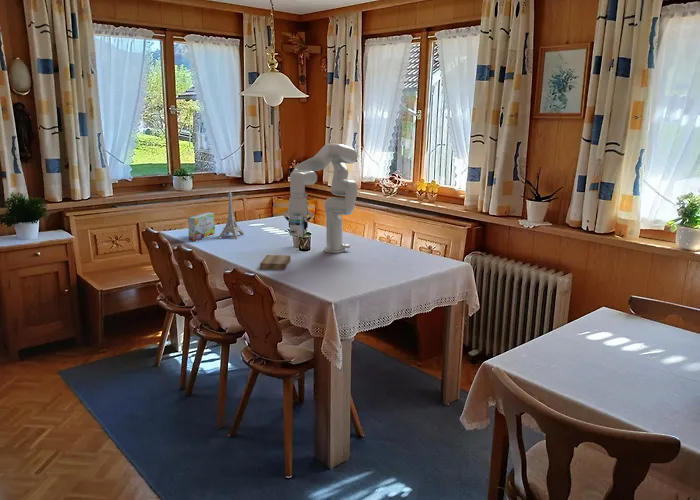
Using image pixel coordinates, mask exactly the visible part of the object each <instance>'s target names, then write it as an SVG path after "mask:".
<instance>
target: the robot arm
mask: <svg viewBox="0 0 700 500" xmlns="http://www.w3.org/2000/svg"><path fill="white" fill-rule="evenodd" d="M357 160H358V152H357V150H356V149H355V148H353V147H350V146H348V145H345V144H341V143H327V144H326V143H325V145H323V147H321V149H320V150H319V151H318V152H317V153H315V154H314V156H313V157H310V158H308V159H306V160H304V161H301V162H300V163H298V165H297V166H295V168H293V170H291V171H292V172H290V174H289V178H290V179H289V181H290V183H289V184H290V185H289V186H290V188H289V189H290V190H289V191H290V197H289V199H288V205H287V208H288V209H287V210H286V211H285V212H283V213H282V216H283V217H284V219H285V220H286V221H287V222H288V229H290V219H289V216H290V215H303V218H304V220H305V223H304V227H305V230H306V229H308V226H309V225H308V222H309V221H310V220H311V219H312V217H314V213H313V212H311V211H310V210H309V207H308V199H307V197H308V193H306V185H307V186H312V185H314V184H315V183H317V181H318V174H317V173H316V172H318V171H322V170H324V169H326V168H327V166H328V165H329V164H330V163H331V164H332V167H333V176H332V178H331V179H332V180H331V183H330V184H331V186H330V193H331V194H332V195H335V196H336V197H335V196H330V197H328V198H326V200H324V211H325V218H326V220H325V221H326V226H325V227H326V229H325V231H326V243H325V244H326V247H324V248H323V251H324V252H326V253H331V254H338V253H344V252H345V251H346V249H350V248H351V245H350V244H348V243H347V244H346V243H345V244H344V241H343V239H344V238H343V234H344V231H343V227H344V226H343V218H342V216H351V215H352V214H353V213H354V210H355V206H356V200H357V195H358V191H359V190H358V184H357V182H356V181H354V180H352V179H351V180H350V179H348V177H349V169H348V167H347V165H346V164H354V163H356V162H357ZM337 196H339V197H337ZM308 215H309V216H308Z"/></svg>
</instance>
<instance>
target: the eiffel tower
mask: <svg viewBox="0 0 700 500" xmlns="http://www.w3.org/2000/svg"><path fill="white" fill-rule="evenodd" d="M227 197H228V209H227V211H228V213H227V217H226V222H225V225H224V227H223V228H222V229H223V230H222V231H221V233H220V234H219V236H218V237H223V238H224V235H225V234H229V233H230V234H232V236H233V239H234V238H235V239H234V240H238V239H237V238H239V237H238V233H239V235H244V234H245V233H244V231H243V230H242V229H241V228H240V226H238V223H237V221H236V217H235V215H234V208H233V201H232V200H233V199H232V197H233V194H232V192H231V190H228V194H227ZM230 234H229V235H230ZM244 236H245V235H244Z"/></svg>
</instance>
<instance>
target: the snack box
mask: <svg viewBox="0 0 700 500" xmlns="http://www.w3.org/2000/svg"><path fill="white" fill-rule="evenodd" d="M187 222H188V224H187V225H188V241H189V240H192V241H191V242H197V241H196V240H198V241H200V240H199V239H201V240H203V239H202V238H204V237H207V236H210V235H213V234H215V235H216V229H215V228H216V227H215V212H208V211H207V212H204V213H201V214H197V215H192V216H190V217H189V216H188V218H187ZM213 236H214V235H213ZM210 237H211V236H210ZM207 238H208V237H207ZM204 239H205V238H204Z"/></svg>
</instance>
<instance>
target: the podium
mask: <svg viewBox="0 0 700 500" xmlns="http://www.w3.org/2000/svg"><path fill="white" fill-rule="evenodd" d="M290 262H291V255H288V254H287V255H285V254H284V255H283V254H282V255H280V254H278V255H277V254H266V256H265V257H264V258H263V259H262V261H260V263H259V265H260V266H259V267H260V268H259V269H260V270H284V269H285V270H286V268H287V267H288V266H287V265H289V264H290Z"/></svg>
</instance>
